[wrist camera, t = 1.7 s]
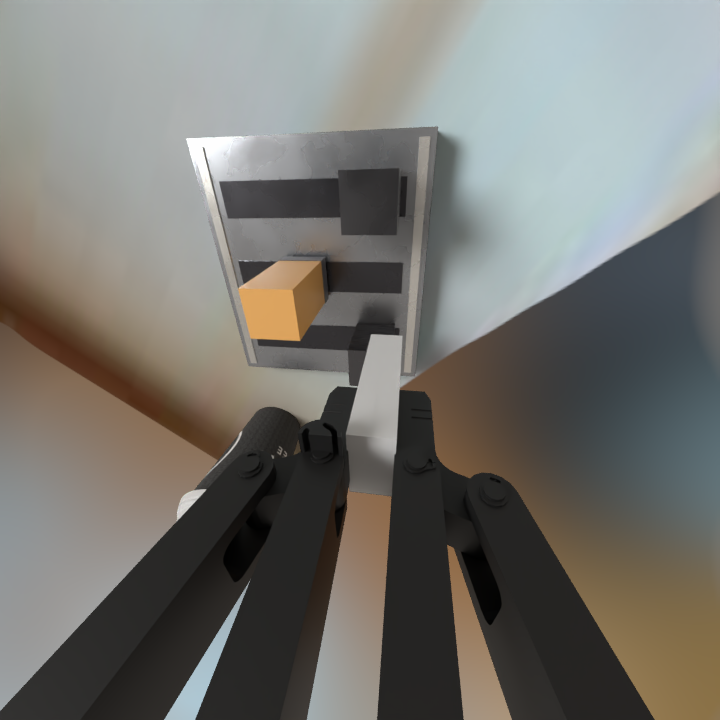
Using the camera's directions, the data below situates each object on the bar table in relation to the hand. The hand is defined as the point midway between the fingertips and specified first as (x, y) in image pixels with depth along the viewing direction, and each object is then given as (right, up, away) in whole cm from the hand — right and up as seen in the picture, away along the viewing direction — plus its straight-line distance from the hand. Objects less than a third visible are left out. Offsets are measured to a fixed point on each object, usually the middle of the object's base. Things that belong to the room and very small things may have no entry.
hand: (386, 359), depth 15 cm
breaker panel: (-5, +8, +13) cm, 16 cm away
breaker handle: (-6, +7, +11) cm, 14 cm away
